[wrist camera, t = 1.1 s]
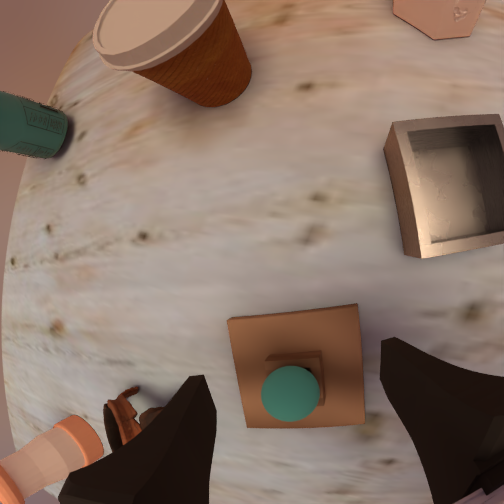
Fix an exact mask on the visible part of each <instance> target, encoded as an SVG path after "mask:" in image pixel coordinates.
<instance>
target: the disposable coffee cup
mask: <svg viewBox="0 0 504 504" xmlns="http://www.w3.org/2000/svg"><path fill="white" fill-rule="evenodd" d="M93 44H94V46H95V49H96V50H97V51H98V52H99V54H100V58H101V59H102V61H103V63H104V64H105V65H107V66H108V67H110V68H112V69H115V70H122V71H133V72H134V73H137V74H139V75H141V76H143V77H145V78H147V79H150V80H152V81H154V82H156V83H158V84H160V85H162V86H164V87H166V88H168V89H170V90H172V91H174V92H176V93H178V94H180V95H182V96H184V97H186V98H188V99H190V100H192V101H194V102H196V103H197V104H199V105H201V106H205V107H217V106H221V105H224V104H227V103H229V102H231V101H232V100H234V99H235V98H237V97H238V96H239V95H240V94H241V93H242V92H243V91H244V90H245V88H246V87H247V85H248V83H249V81H250V78H251V65H250V63H249V60H248V58H247V55H246V52H245V50H244V47H243V45H242V42H241V40H240V37H239V34H238V32H237V30H236V27H235V24H234V22H233V19H232V17H231V15H230V12H229V10H228V8H227V5H226V3H225V0H110V1H109V2H108V4H107V5H106V6H105V8H104V9H103V11H102V12H101V14H100V16H99V18H98V20H97V22H96V25H95V27H94V31H93Z"/></svg>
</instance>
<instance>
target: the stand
mask: <svg viewBox="0 0 504 504" xmlns="http://www.w3.org/2000/svg"><path fill="white" fill-rule="evenodd" d="M227 324H228V330H229V336H230V341H231V347H232V352H233V358H234V363H235V369H236V374H237V379H238V384H239V390H240V395H241V400H242V405H243V410H244V415H245V420H246V425H247V428H317V427H333V426H346V425H356V424H365V412H364V381H363V363H362V348H361V335H360V324H359V314H358V305H357V303H356V304H349V305H342V306H335V307H327V308H319V309H311V310H303V311H294V312H285V313H276V314H266V315H255V316H244V317H232V318H230V319H228V320H227ZM285 366H298V367H301V368H304V369H306V370H307V371H309V372H310V373H311V374H312V375H313V376H314V377H315V379H316V380H317V382H318V385H319V389H320V397H319V401H318V404H317V406H316V408H315V409H314V410H313V412H312V413H311V414H309V415H308V416H307V417H305V418H303V419H301V420H298V421H293V422H286V421H281V420H278V419H276V418H274V417H273V416H271V415H270V414H269V413H268V412H267V411H266V409H265V408H264V406H263V403H262V400H261V389H262V386H263V383H264V381H265V379H266V378H267V377H268V376H269V375H270V374H271V373H272V372H273V371H275V370H276V369H278V368H281V367H285Z"/></svg>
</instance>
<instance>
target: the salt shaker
mask: <svg viewBox="0 0 504 504" xmlns="http://www.w3.org/2000/svg"><path fill="white" fill-rule="evenodd" d="M103 451H104V450H103V446H102V443H101V441H100V439H99V437H98V436H97V434H96V433H95V431H94V430H93V429H92V427H91V426H90V425H89V424H88V423H87V422H86V421H84V420H83V419H82V418H80V417H78V416H75V415H72V416H70V417H68V418H66V419H64V420H62V421H60V422H58V423H56V424H55V425H54V427H53V429H51V430H49V431H47V432H45V433H43V434H41V435H38V436H37V437H35V438H34V439H33V440H32V441H31V442H29V443H28V444H27V445H26V446H24V447H23V448H22V449H21V450H19V451H17V452H15V453H13V454H11V455H9V456H7V457H5V458H3V459H1V460H0V501H1V503H2V504H25V501H24V499H25V498H27V497H29V496H31V495H32V494H34V493H36V492H37V491H39V490H40V489H42V488H44V487H45V486H48V485H50V484H53V483H55V482H58V481H60V480H63V479H65V478H67V477H68V475H69V473H70V472H73V471H75V470H78V469H80V468H83V467H85V466H88V465H90V464H92V463H93V462H95V461H96V460H98V459H99V458H100V457H101V456H102V455H103Z"/></svg>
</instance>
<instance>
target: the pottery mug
mask: <svg viewBox="0 0 504 504" xmlns="http://www.w3.org/2000/svg"><path fill="white" fill-rule="evenodd" d="M137 393H138V387H135V388H133V387H132V388H130V389H127V390H125V391H124V392H123V393H121V394H120V395H119V396H118V397H117V399H116V400H108V401H107V402H108V404H104V409H103V415H104V425H105V430H106V434H107V438H108V441H109V444H110V447H111V450H112V453H113V452H114V451H116V450H117V449H119V448H120V447H122V446H123V445H124V444H126V443H127V442H129V441H130V440H131V439H133V438H134V437H135V436H136V435H138V434H139V433H140V432H141V431H142V430H143V429H144V428H145V427H147V426H148V425H149V424H150V423H151V422H152V421H153V420H154V418H155V417H156V416H157V415H158V414H159V413H160V412H161V411H162V410H163V409H164V408H165V407H156V408H149V409H148V410H147V411H145V412H144V413H142V414H141V415H140V417H139V421H140V424H139V423H138V422H137V421H136V420H135V419H134V418H135V417H136V416H137V412H136V410H135V409H134V408H133V407H132V405H131V404H130V402H128V401H127V400H126V398H127V397H129V396H132V395H135V394H137Z"/></svg>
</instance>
